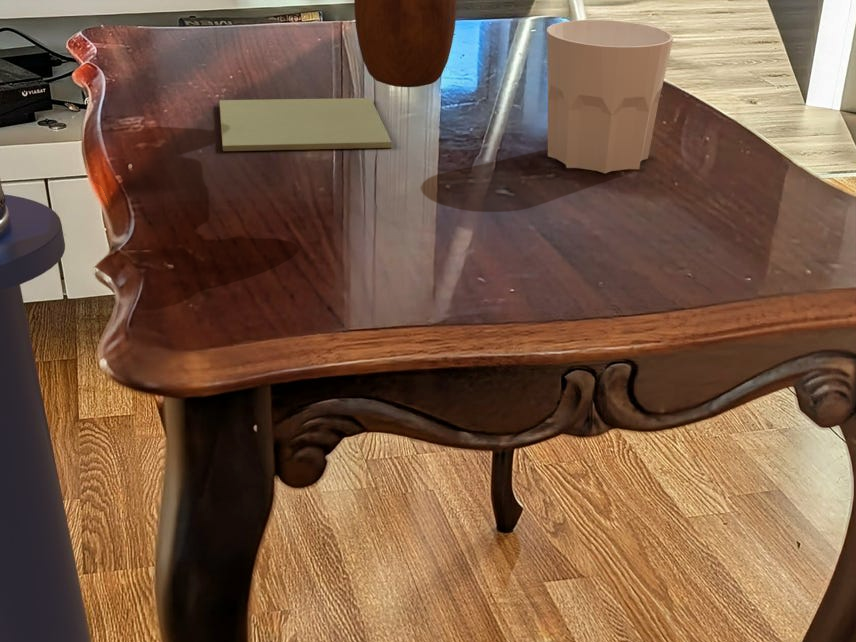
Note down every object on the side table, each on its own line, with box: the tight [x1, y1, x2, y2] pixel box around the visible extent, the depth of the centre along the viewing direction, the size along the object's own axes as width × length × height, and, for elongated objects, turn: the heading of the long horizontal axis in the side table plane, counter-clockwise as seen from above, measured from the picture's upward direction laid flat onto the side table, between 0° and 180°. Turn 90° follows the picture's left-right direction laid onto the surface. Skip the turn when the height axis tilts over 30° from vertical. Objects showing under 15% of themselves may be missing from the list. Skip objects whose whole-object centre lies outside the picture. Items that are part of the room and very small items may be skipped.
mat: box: [218, 97, 393, 152], centre depth 101 cm, size 14×14×1 cm
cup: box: [546, 19, 674, 174], centre depth 94 cm, size 10×10×10 cm
